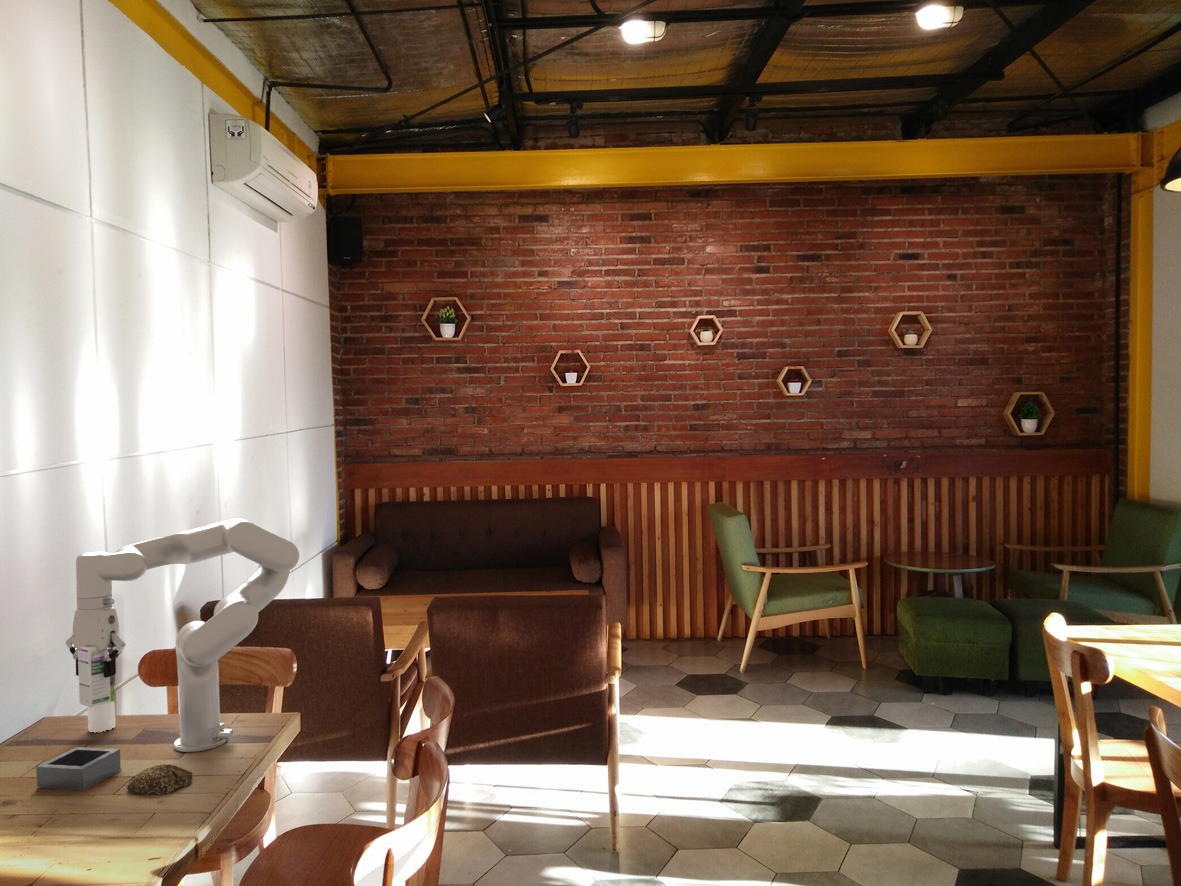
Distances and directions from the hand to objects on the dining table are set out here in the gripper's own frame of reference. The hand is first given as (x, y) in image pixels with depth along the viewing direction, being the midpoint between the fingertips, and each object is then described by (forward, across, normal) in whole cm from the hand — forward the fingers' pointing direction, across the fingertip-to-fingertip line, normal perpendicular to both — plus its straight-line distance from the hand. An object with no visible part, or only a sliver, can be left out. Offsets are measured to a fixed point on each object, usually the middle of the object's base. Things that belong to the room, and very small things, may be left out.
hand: (95, 674), depth 212 cm
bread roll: (+22, -25, +8) cm, 34 cm away
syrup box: (+7, 0, 0) cm, 7 cm away
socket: (+22, -3, +8) cm, 24 cm away
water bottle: (+22, +18, -21) cm, 35 cm away
